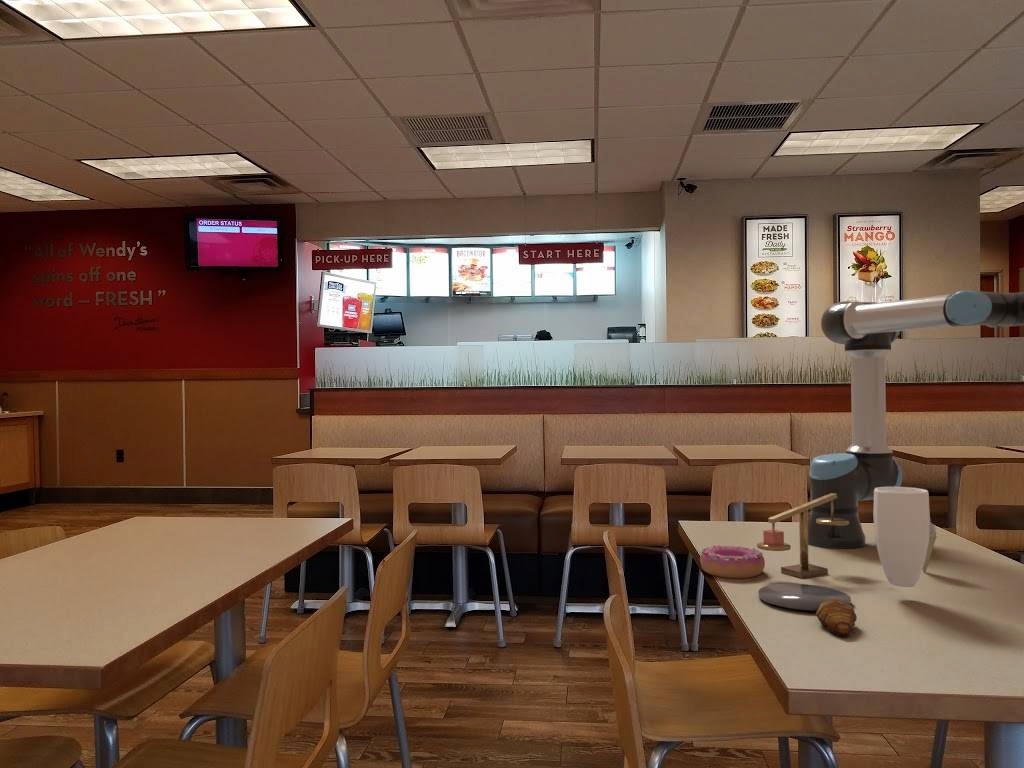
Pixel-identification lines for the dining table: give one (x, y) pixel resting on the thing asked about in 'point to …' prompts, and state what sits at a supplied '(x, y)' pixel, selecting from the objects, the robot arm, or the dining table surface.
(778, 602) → the grey flat disc
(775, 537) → the balance
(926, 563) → the ice cream cone
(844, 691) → the dining table surface
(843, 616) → the croissant
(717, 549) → the donut
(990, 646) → the dining table surface
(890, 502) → the cup
